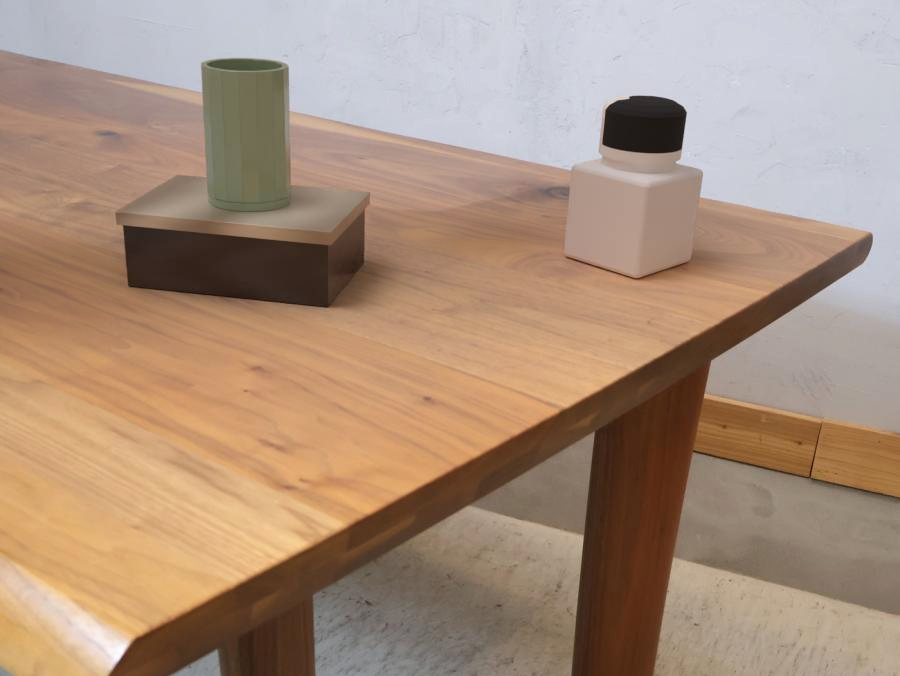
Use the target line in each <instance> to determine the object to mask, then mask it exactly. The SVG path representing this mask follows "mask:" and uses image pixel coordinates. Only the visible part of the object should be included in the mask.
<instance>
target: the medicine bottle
mask: <svg viewBox="0 0 900 676" xmlns="http://www.w3.org/2000/svg"><path fill="white" fill-rule="evenodd" d="M687 115H688V111H687V110H686V108H685V107H684V106H683V105H682V104H680V103H679V102H677V101H676V100H674V99H671V98H668V97H663V96H657V95H656V96H655V95H646V94H624V95H619V96H618V95H617V96H616V97H614V98H611V99H609V100H607V101H606V102H605V103H604V104H603V106H602V114H601V123H600V133H599V141H598V142H599V143H598V153H599V154H600V155H601V157H600V158H597V159H592V160H586V161H582V162H577V163H574V164H573V165H572V166H571V173H570V184H569V193H568V203H567V204H568V205H567V216H566V225H565V235H564V236H565V237H564V246H563V247H564V249H563V253H564V256H565V257H567V258H569V259H573V260H577V261H579V262H582V263H584V264H585V263H586V264H589V265H591V266H595V267H598V268H601V269H605V270H607V271H611V272H614V273H617V274H620V275H623V276H627V277H630V278H633V279H640V278H643V277H646V276H648V275H651V274H655V273H658V272H661V271H664V270H667V269H670V268H673V267H677V266H679V265H682V264H685V263H688V262H689V261H691V259H692V253H693V247H694V246H693V245H694V240H695V232H696V225H697V219H698V212H699V207H700V206H699V204H700V198H701V190H702V186H703V185H702V184H703V177H704V172H703V170H702V169H701V168H697V167H693V166H689V165H684V164H680V163H677V162H678V161H680V160H681V158H682V152H683V145H684V137H685V129H686V123H687Z"/></svg>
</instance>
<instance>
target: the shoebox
mask: <svg viewBox="0 0 900 676" xmlns="http://www.w3.org/2000/svg"><path fill="white" fill-rule="evenodd" d="M290 195H291V201H290V203H289V204H288V205H287V206H285V207H282V208H279V209H275V210H269V211H259V212H241V211H231V210H225V209H221V208H217V207H214V206H212V205H211V204H210V203H209V202H208V192H207V176H197V175H196V176H195V175H184V174H176V175H174V176H173V177H171V178H169V179H168V180H166V181H165V182H162V183H160V184H159V185H158V186H156V187H155V188H152V189H150V190H149V191H148V192H146V193H143V194H142V195H141V196H139V197H137V198H136V199H134V200H132V201H131V202H129V203H128V204H125V205H124V206H123V207H121V208H119V209H117V210H116V211H115V222H116V225H117V226H122V231H123V232H122V233H123V242H124V244H123V245H124V255H125V265H126V279H127V287H134V288H143V289H154V290H163V291H171V292H173V291H174V292H180V293H181V292H182V293H191V294H200V295H210V296H220V297H230V298H237V299H239V298H240V299H247V300H248V299H249V300H257V301H267V302H275V303H276V302H277V303H287V304H296V305H305V306H314V307H325V308H328V307H329V306H330V305H331V304H332V302H333V301H334V300H335V299H336V298H337V296H338V295H339V294H340V293H341V292H342V290H343V289H344V288H345V286H346V285H347V284H348V283H349V282H350V280H351V279H352V278H353V277H354V276H355V275H356V273H357V272H358V271H359V270H360V268H361V267H362V266H363V265H364V263H365V242H366V241H365V237H366V236H365V231H366V230H365V229H366V225H365V224H366V209H367V208H368V207H369V206H370V205H371V192H370V191H363V190H350V189H341V188H328V187H320V186H319V187H317V186H316V187H315V186H307V185H294V184H291V194H290Z"/></svg>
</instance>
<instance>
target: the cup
mask: <svg viewBox="0 0 900 676" xmlns="http://www.w3.org/2000/svg"><path fill="white" fill-rule="evenodd" d="M200 74H201V75H200V76H201V95H202V113H203V134H204V153H205V154H204V155H205V171H206V172H205V173H206V177H207V192H208V202H209V203H210V204H211V205H212V206H214V207H217V208H221V209H225V210H231V211H241V212H259V211H269V210H275V209H279V208H282V207H285V206H287V205H288V204H289V203H290V201H291V195H290V194H291V185H292V176H291V175H292V174H291V173H292V171H291V166H292V165H291V120H290V118H291V117H290V67H289V65H288V64H287V63H285V62H282V61H279V60H273V59H267V58H253V57H225V58H213V59H207V60H205V61H202V62H201V63H200Z"/></svg>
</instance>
